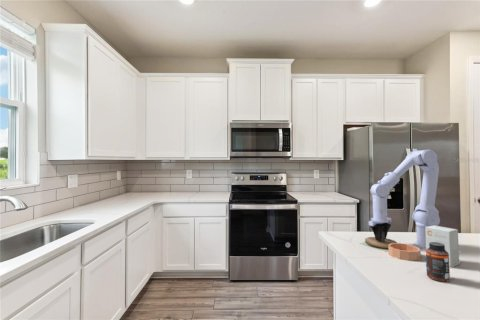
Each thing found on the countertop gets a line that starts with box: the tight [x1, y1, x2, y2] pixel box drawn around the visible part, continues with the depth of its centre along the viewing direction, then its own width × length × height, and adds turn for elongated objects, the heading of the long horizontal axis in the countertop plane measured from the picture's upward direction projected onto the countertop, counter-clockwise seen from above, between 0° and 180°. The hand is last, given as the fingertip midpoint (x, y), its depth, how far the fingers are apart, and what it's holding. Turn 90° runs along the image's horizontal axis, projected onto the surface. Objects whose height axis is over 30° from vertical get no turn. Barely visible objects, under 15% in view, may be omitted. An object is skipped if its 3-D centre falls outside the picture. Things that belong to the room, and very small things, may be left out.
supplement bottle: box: [425, 242, 451, 282], centre depth 81 cm, size 6×6×11 cm
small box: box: [425, 225, 460, 268], centre depth 94 cm, size 8×6×13 cm
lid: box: [364, 232, 398, 248], centre depth 114 cm, size 13×13×6 cm
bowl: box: [387, 242, 422, 262], centre depth 100 cm, size 11×11×4 cm
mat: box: [359, 241, 389, 253], centre depth 114 cm, size 13×13×1 cm
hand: (380, 239), depth 114 cm, fingers closed on lid, 3 cm apart
